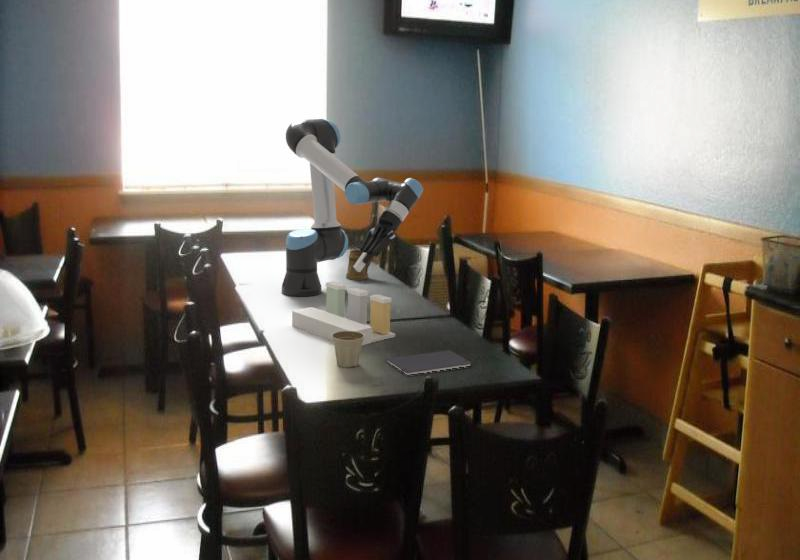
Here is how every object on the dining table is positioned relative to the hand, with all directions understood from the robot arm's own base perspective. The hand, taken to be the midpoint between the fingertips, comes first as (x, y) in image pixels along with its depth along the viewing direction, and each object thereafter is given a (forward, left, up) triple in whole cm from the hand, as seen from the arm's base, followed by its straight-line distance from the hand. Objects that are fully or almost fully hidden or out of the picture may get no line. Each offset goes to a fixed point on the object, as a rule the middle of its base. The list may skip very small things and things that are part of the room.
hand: (356, 269), depth 278 cm
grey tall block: (+7, -12, -15) cm, 21 cm away
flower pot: (+22, -45, -17) cm, 53 cm away
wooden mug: (-26, +53, -17) cm, 61 cm away
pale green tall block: (-3, -8, -15) cm, 17 cm away
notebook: (+42, -33, -17) cm, 56 cm away
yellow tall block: (+17, -16, -15) cm, 28 cm away
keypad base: (+5, -19, -16) cm, 25 cm away
